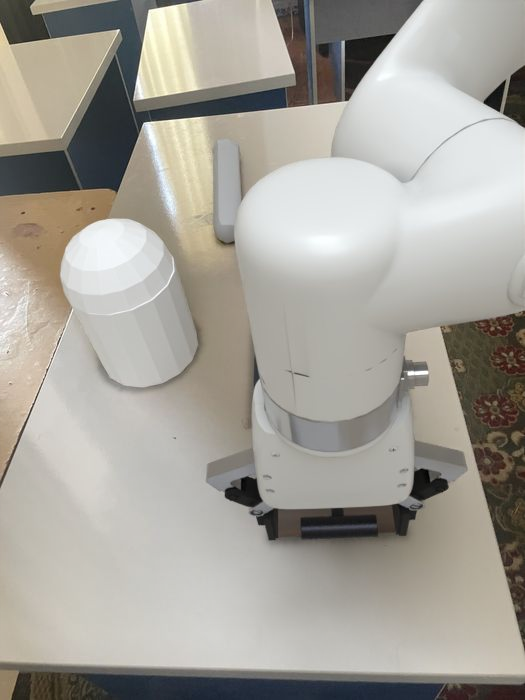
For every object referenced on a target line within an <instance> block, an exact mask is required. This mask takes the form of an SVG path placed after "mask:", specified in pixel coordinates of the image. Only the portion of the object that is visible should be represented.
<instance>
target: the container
mask: <svg viewBox="0 0 525 700" xmlns="http://www.w3.org/2000/svg"><path fill="white" fill-rule="evenodd" d="M59 271H60V273H59V278H60V282H61V286H62V290H63V295H64V296H65V297H66V300H67V301H68V302H69V304H70V307H71V308H72V310H73V312H74V314H75V316H76V318H77V319H78V321H79V323H80V325H81V327H82V329H83V331H84V333H85V334H86V337H87V338H88V341H89V342H90V344H91V346H92V348H93V350H94V352H95V353H96V356H97V357H98V359H99V361H100V363H101V366H102V367H103V368H104V370H105V372H106V373H107V375H108V377H109V379H111V380H112V381H114V382H116V383H118V384H120V385H122V386H123V387H131V388H141V389H144V388H147V387H153V386H156V385H162V384H164V383H166V382H168V381H170V380H172V379H173V378H175V377H177V376H179V375H180V374H181V373H182V372H184V370H185V369H186V368H187V367H188V366H189V365H190V364H191V363H192V362H193V360H194V358H195V355H196V353H197V350H198V347H199V341H198V333H197V330H196V326H195V323H194V319H193V317H192V313H191V311H190V307H189V304H188V300H187V297H186V294H185V291H184V287H183V283H182V281H181V277H180V275H179V271H178V269H177V265H176V261H175V258H174V256H173V255H172V254H171V253H170V250H169V249H168V247H167V245H166V243H164V241H163V240H162V238H161V237H160V236H159V235H158V234H157V233H156V232H155V231H154V230H152V229H150V228H149V227H147V226H146V225H144V224H142V223H140V222H138V221H135V220H132V219H130V218H106V219H102V220H96V221H94V222H93V223H89V225H87V226H86V227H84V228H82V229H81V230H80V231H79V232H77V233H76V234H74V236H72V238H71V239H70V241H69V242H68V243H67V245H66V247H65V250H64V252H63V256H62V259H61V262H60V270H59Z"/></svg>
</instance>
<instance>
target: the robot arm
mask: <svg viewBox="0 0 525 700" xmlns="http://www.w3.org/2000/svg"><path fill="white" fill-rule="evenodd" d="M523 67H525V0H422V1H421V2H420V3H419V5H418V6H417V8H416V9H415V10H414V11H413V13H412V14H411V15H410V16H409V18H407V20H406V21H405V22H404V24H403V25H402V26H401V27H400V29H399V30H398V31H397V33H396V34H395V35H394V36H393V37H392V39H391V40H390V41H389V43H388V44H387V45H386V47H385V48H384V49H383V50H382V51H381V53H380V54H379V55H378V57H376V59H375V60H374V62H373V63H372V65H371V66H370V68H368V70H367V71H366V73H365V74H364V76H363V77H362V78H361V80H360V81H359V83H358V84H357V86H356V88H355V89H354V91H353V93H352V94H351V96H350V97H349V99H348V101H347V103H346V105H345V106H344V108H343V109H342V112H341V115H340V117H339V120H338V121H337V124H336V126H335V129H334V133H333V137H332V141H331V145H330V156H323V157H312V158H306V159H300V160H298V161H293V162H291V163H288V164H285V165H283V166H280V167H278V168H277V169H275V170H273V171H271V172H269V173H268V174H266V175H264V176H263V177H262V178H260V179H259V180H257V181H256V182H255V184H253V185H252V186H251V187H250V188H249V189H248V191H247V192H246V194H245V195H244V196H243V197H242V202H241V204H240V206H239V208H238V211H237V215H236V219H235V225H234V238H235V241H234V246H235V254H236V259H237V265H238V269H239V275H240V281H241V286H242V291H243V296H244V301H245V302H244V303H245V307H246V312H247V318H248V324H249V328H250V334H251V339H252V340H251V341H252V343H253V350H254V357H255V356H256V361H257V367H258V372H259V377H260V379H259V380H258V382H257V383H256V385H255V388H254V387H253V392H254V393H252V401H251V432H252V434H251V435H252V447H251V448H248V449H245V450H242V451H239V452H236V453H234V454H231V455H228V456H225V457H222V458H219V459H216V460H213V461H211V462H209V463H207V464H206V472H205V483H206V484H208V485H209V486H211V487H212V488H214V489H215V490H217V492H220V493H221V492H223V493H224V498H225V499H226V500H228V501H230V502H234V503H236V504H239V505H241V506H244V507H247V508H248V515H250V516H252V517H255V518H256V522H257V525H258V526H264V527H265V531H266V535H267V539H268V541H270V542H271V541H277V539H279V537H278V509H319V508H346V507H368V506H384V505H392V510H393V517H394V523H395V530H396V532H395V534H396V535H398V537H407V534H408V528H409V523H410V521H415V520H416V519H417V518H416V517H417V512H418V511H421V510H423V509H425V508H426V503H425V501H426V500H428V499H430V498H432V497H434V496H438V495H439V494H442V493H444V492H445V491H447V490H448V489H449V484H450V483H451V482H452V483H453V482H455V481H456V480H458V479H459V478H460V477H461V476H463V475H464V474H466V473H467V472H468V465H467V461H466V456H465V454H464V452H463V450H459V449H454V448H451V447H446V446H441V445H437V444H433V443H429V442H424V441H420V440H415V433H414V432H415V431H414V417H413V402H412V396H411V392H410V390H414V389H415V387H428V386H429V383H430V372H429V365H428V362H427V361H413V360H412V359H406V355H405V349H406V348H405V347H406V341H407V340H406V338H407V334H409V333H412V332H413V333H414V332H418V331H423V330H428V329H434V328H440V327H447V326H453V325H460V324H466V323H472V322H478V321H484V320H491V319H495V318H500V317H506V316H508V315H513V314H518V313H520V312H525V127H524V126H522V125H521V124H519V123H518V122H517V121H515V120H514V119H512V118H510V117H509V116H507V115H505V114H503V113H502V112H500V111H497V110H496V109H494V108H492V107H490V106H488V105H487V104H485V103H484V101H485V100H486V99H487V98H488V97H490V95H491V94H492V93H493V92H494V91H495V90H497V88H498V87H499V86H500V85H501V84H503V82H504V81H506V80H507V79H509V78H510V77H511V76H512V75H513V74H514V73H516V72H517V71H518V70H520V69H521V68H523Z"/></svg>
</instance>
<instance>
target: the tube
mask: <svg viewBox="0 0 525 700" xmlns="http://www.w3.org/2000/svg"><path fill="white" fill-rule="evenodd" d="M240 148H241V147H240V143H239V142H238V141H237V142H236V141H235V140H233V139H231V138H223V139H222V138H221V139H217V140H216V141H215V143H214V145H213V146H212V148H211V152H212V179H213V180H212V193H213V194H212V229H213V233H214V237H215V238H217V239H218V240H220V241H222V242H223V243H225V244H230V243H233V242H235V238H234V225H235V219H236V215H237V211H238V208H239V206H240V204H241V202H242V200H243V195H242V193H243V192H242V178H241V160H240V158H241V156H242V155H241V149H240Z"/></svg>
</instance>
